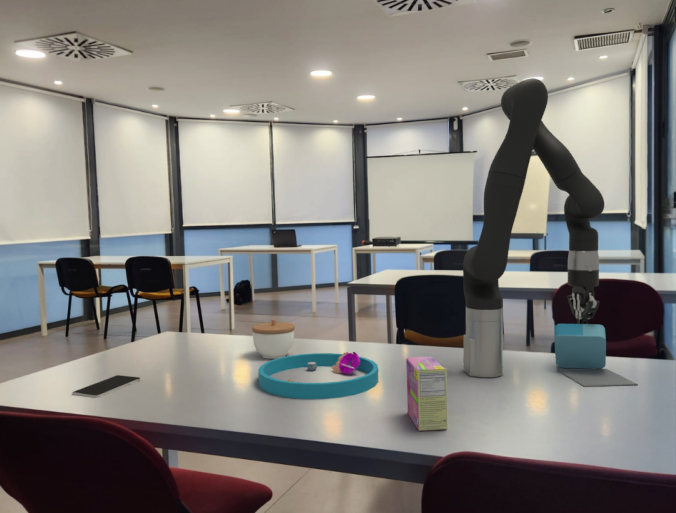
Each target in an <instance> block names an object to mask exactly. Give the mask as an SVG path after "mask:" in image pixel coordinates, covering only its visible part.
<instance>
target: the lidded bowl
mask: <svg viewBox="0 0 676 513" xmlns="http://www.w3.org/2000/svg"><path fill="white" fill-rule="evenodd" d="M295 329H296V327H295V325H294V324H293V323H290V322H283V321H281V322H280V321H279V322H276V319H274V318H273V319H271V321H270V322H263V323H258V324H254V325H253V326H252V327H251V331H252V339H253V345H254V348H255V350H256V352H257V353H259V355H261V357H262V358H264V359H271V360H274V359H277V358H282V357H286V356H287V354H288V353H289V352H290V351H291V349H292V348H293V346H294V340H295Z"/></svg>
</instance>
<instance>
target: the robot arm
mask: <svg viewBox="0 0 676 513" xmlns="http://www.w3.org/2000/svg"><path fill="white" fill-rule="evenodd" d="M548 100H549V94H548V90H547V87H546V84H544V82H543V81H542V80H540V79H538V78H527V79H524V80H522V81H519V82H517V83H515V84H513V85H512V86H510V87H508V88H507V89H506V90H505V91H504V92H503V93H502V96H501V99H500V107H501V110H502V112H503V113H504V115H505V117H506V118H507V120H509V123H508V128H507V131H506V134H505V136H504V139H503V141H502V142H501V144H500V146H499V148H498V150H497V151H496V153H495V155H494V158H493V159H492V162H491V164H490V165H489V170H488V173H487V177H486V182H485V185H484V191H483V222H482V223H483V225H482V228H481V232H480V235H479V239H478V241H477V245H474V246H472V247H470V248H469V249H468V250H467V251H466V253H465V254H464V258H463V263H462V274H463V275H462V278H463V279H462V280H463V283H462V284H463V294H464V298H465V300H464V301H465V334H463V371H464V372H465V373H466V374H467V375H468V376H469V377H477V378H478V377H479V378H497V377H500V376H503V373H504V372H503V368H504V366H503V362H504V361H503V359H504V358H503V356H504V355H503V348H504V344H503V341H504V340H503V338H504V335H503V332H504V331H503V330H504V329H503V328H504V326H503V324H504V322H503V320H504V319H503V318H504V316H503V315H504V314H503V312H504V311H503V310H504V308H503V307H504V304H503V302H504V300H503V296H502V294H501V291H500V287H499V286H500V284H499V279H500V278H501V277H502V276H503V275H504V273H505V272H506V269H507V264H508V258H509V250H510V244H511V237H512V231H513V227H514V223H515V220H516V217H517V213H518V209H519V206H520V201H521V199H522V194H523V191H524V188H525V184H526V180H527V175H528V174H527V173H528V169H529V165H530V161H531V157H532V153H533V151H534V153H535V154H536V156H537V157H538V159H539V160H540V162H541V163H542V165H543V166H544V168H545V170H546V171H547V173H548V175H549V177H550V178H551V180H552V181H553V183H554V185H555V186H556V188H558V190H560V191H563V192H566V193H567V194H568V196H567V197H566V199H565V201H564V205H563V214H564V219H565V223H566V228H567V231H568V234H569V236H568V255H567V256H568V257H567V285H568V286H571V287H572V289H571V294H569V295H567V296H566V298H567V301H568V304H569V307H570V310H571V313H572V315H573V316H575V319H576V324H589V320H590V319H593V318H594V317H595V314H596V312H597V311H598V309H599V307H600V300H596V299H595V291H594V290H595V289H594V288H595V287H598V286H599V285H600V284H599V283H600V258H599V257H600V256H599V255H600V254H599V232H598V230H597V229H596V228H594V227H592V225H591V222H590V219H593V218H597V217H599V216H601V215H602V213H603V212H604V209H605V200H604V197H603V195H602V193H601V191H600V190H599V189H598V188H597V187H596V185H595V184H594V183H593V182H592V181H591V180H590V179H589V178H588V177H587V176H586V175H585V174H584V173H583V172H582V170H581V168H580V166H579V164H578V162H577V161H576V159H575V157H574V156H573V154H572V153H571V151H570V150H569V148H567V146H565V145H564V144H563V142H562V141H561V140H559V139H558V138H557V137H556V136H555V135H554V134H553V133H552V132H551V131H550V129H549V128H548V127H547V126H546V125H545V123H544V122H543V117H544V115H545V111H546V109H547V106H548Z"/></svg>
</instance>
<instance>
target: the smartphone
mask: <svg viewBox="0 0 676 513" xmlns="http://www.w3.org/2000/svg"><path fill="white" fill-rule="evenodd" d="M138 382H141V376H140V377H139V376H131V375H129V376H127V375H122V374H121V375H120V374H119V375H118V374H117V375H114V376H111V377H108V378H105V379H103V380H101V381H98V382H95V383H93V384H90V385H88V386H84V387H82V388H79V389H77V390H73V391H72V392H71V394H72V395H73V396H78V397H85V398H86V397H87V398H93V399H97V398H102V397H104V396H106V395H108V394H110V393H114V392H116V391H119V390H120V389H123V388H124V389H125V388H126V387H128V386H132V385H133V384H136V383H138Z"/></svg>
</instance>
